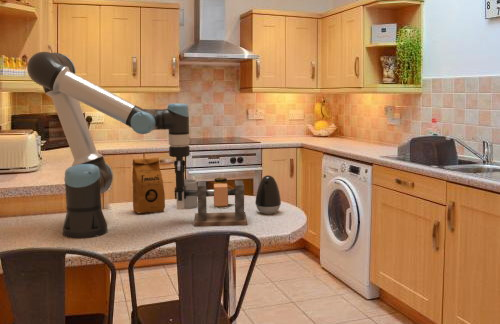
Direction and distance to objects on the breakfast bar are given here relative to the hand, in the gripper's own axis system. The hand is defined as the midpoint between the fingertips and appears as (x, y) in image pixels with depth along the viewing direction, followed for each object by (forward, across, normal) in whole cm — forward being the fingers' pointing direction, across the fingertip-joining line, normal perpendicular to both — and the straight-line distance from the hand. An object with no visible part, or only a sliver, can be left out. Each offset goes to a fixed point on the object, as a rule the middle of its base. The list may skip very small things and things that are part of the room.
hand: (180, 207), depth 204 cm
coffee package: (+6, +18, +14) cm, 24 cm away
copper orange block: (+6, +25, -16) cm, 30 cm away
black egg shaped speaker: (+6, +11, -34) cm, 36 cm away
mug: (+6, +27, -1) cm, 28 cm away
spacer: (-1, 0, -15) cm, 15 cm away
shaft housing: (+6, 0, -15) cm, 16 cm away
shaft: (-3, 0, -10) cm, 10 cm away
